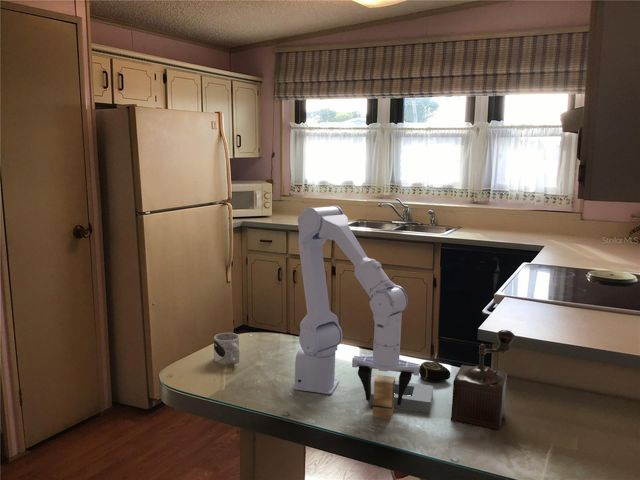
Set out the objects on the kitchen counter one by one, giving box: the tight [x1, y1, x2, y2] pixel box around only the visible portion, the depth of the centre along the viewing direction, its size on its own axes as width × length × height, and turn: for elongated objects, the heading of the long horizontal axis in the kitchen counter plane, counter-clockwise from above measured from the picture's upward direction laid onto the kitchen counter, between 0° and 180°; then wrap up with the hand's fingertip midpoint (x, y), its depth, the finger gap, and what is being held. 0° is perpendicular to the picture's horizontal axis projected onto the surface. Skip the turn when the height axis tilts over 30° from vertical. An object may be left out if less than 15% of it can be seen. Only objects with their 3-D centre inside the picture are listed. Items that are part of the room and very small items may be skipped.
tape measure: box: [419, 360, 451, 383], centre depth 141 cm, size 7×7×4 cm
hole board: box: [367, 377, 434, 414], centre depth 128 cm, size 14×9×2 cm, turn 75°
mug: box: [213, 332, 240, 366], centre depth 147 cm, size 10×7×7 cm
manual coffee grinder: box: [450, 329, 516, 432], centre depth 123 cm, size 16×11×18 cm
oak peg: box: [372, 374, 396, 420], centre depth 121 cm, size 4×4×8 cm
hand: (383, 401), depth 121 cm, fingers open, 6 cm apart
